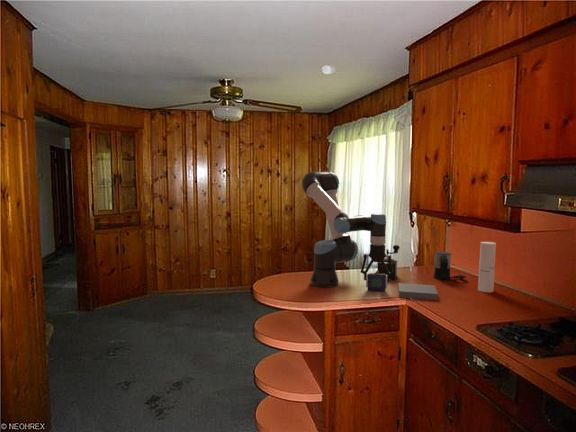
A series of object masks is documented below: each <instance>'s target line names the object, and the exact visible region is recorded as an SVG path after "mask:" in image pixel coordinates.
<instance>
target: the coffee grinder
mask: <svg viewBox="0 0 576 432" xmlns="http://www.w3.org/2000/svg"><path fill="white" fill-rule="evenodd" d="M400 248H401V247H400V245H397V244H394V245H393V246H392V249H393V252H391V251H389V249H388V248H387V249H385V254H386V255H393V254H398V253H399V250H400ZM384 263H385V265H386V267H387V269H388V271H389V272H391V271H390V267H389V262H388V259H387V258H386V257H385V258H384ZM391 264H392V268H393V275H390V281H396V280H397V278H399V277H398V260H396V259H394V258H391ZM376 271H378V273H379V274H386V275H387V273H386V271H385V269H384V267H383V265H382V263H381V262H377V270H376Z"/></svg>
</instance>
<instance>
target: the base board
mask: <svg viewBox="0 0 576 432" xmlns="http://www.w3.org/2000/svg"><path fill="white" fill-rule="evenodd" d="M397 291H398V297H399V298H403V299H404V298H405V299H419V300H430V301H432V300H433V301H439V292H438V290H437V287H436V285H434V284H433V285H432V284H418V283H417V284H416V283H402V282H398V284H397Z"/></svg>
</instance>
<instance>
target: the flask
mask: <svg viewBox="0 0 576 432" xmlns="http://www.w3.org/2000/svg"><path fill="white" fill-rule="evenodd" d="M367 274H368V287H366V288H367V292H372V293H373V292H375V293H376V292H378V293H380V292H382V293H383V292H386V290H387V289H386V274H379V273H378V271H377V270H376V271H375V272H370V273H367Z"/></svg>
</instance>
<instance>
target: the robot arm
mask: <svg viewBox="0 0 576 432" xmlns="http://www.w3.org/2000/svg"><path fill="white" fill-rule="evenodd" d="M338 177H339V176H337V174H336V173H334V172H332V171H310V172H307V173H306V174H304V176H303V177H302V179H301V187H302V190H303V192H304V193H305V194H306V196H307V197H310V198H312V199H313V201H314V202H315V203H316V204H317V205H318V206H319V207H320V209H322V210H323V212H324V213H325V217H326V220H327V221H326V222H327V223H328V228H329V231H330V236H331V239H323V240H319V241H316V242H315V243H314V248H313V271H312V273H311V274H312V275H311V278H310V285H312V286H314V287H319V288H334V287H336V286H338V285H339V278H338V274H337V271H336V264H339V263H344V262H345V263H348V262H351V261H353V260H355V259H356V258H357V256H358V253H359V247H358V244H357V242H355V240H353V239H352V237H351V235H349V234H348V233H350V232H351V233H352V232H359V231H360V232H361V231H366V232H369V233H370V235H369V236H370V238H369V239H370V240H369V242H370V244H369V253H364V254H363V262H362V264H361V269H360V273H361V274H363V281H365V288H368V274H369V273H368V272H369V270H370V268H371V266H372V265H373V263H378V262H381V263H382V265H383V267H384V269H385V271H386V273H387V275H386V290H387V289H388V283H389V282H390V281H391V280H390V275H393V268H392V264H391V259H392V254H388V255H387V253H386V245H385V244H386V228H387V217H386V214H385V213H378V212H377V213H371V214H370V216H368V215H367V216H366V215H361V214H359V215H358V214H356V215H355V216H349V215H348V214H347V213H345V211H344V210H343V209H342V208H341V207H340V205H339V201H338V198H337V193H338V189H339V185H340V181H339V180H340V179H339V178H338ZM368 258H370V261H369V263H368V264H367V267H366V268H365V266H366V261H367V259H368ZM385 258H387V259H388V262H389V267H390V271H391V272H389V271H388V269H387V267H386V265H385V263H384V259H385Z"/></svg>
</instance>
